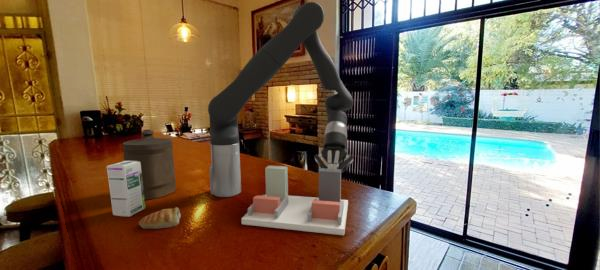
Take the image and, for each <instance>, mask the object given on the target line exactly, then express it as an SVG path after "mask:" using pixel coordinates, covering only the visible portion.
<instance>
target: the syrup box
mask: <svg viewBox="0 0 600 270" xmlns="http://www.w3.org/2000/svg"><path fill="white" fill-rule="evenodd" d="M106 172H107V173H106V174H107V179H108V186H109V195H110V201H111V209H112V210H111V211H112V215H113V216H117V217H118V216H119V217H127V218H128V217H129V218H130V217H132V216H133V215H136V214H137V213H139V212H141V211H143V210H145V209H146V207H147V206H146V201H145V198H144V189H143V181H142V172H141V163H140V161H124V160H123V161H120V162H116V163H113V164H109V165H107V166H106Z"/></svg>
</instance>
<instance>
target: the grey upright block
mask: <svg viewBox="0 0 600 270" xmlns="http://www.w3.org/2000/svg"><path fill="white" fill-rule="evenodd" d="M341 197H342V173H341V169H333V168H332V169H325V168H320V167H319V170H318V198H319V200H320V201H332V202H340V203H341V200H342V198H341Z"/></svg>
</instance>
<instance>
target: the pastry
mask: <svg viewBox="0 0 600 270" xmlns="http://www.w3.org/2000/svg"><path fill="white" fill-rule="evenodd" d="M180 212H181V211H180V208H179V207H177V206H175V207H174V208H163V209H161V210H158V211H155V212H152V213H150V214H148V215H146V216H143V217H142V218H141V219H140V220H139V221H138V224H139V227H141V228H142V229H145V230H147V229H149V230H151V229H153V230H157V229H165V228H172V227H176V226H178V225H179V224H180V219H181V216H182V215H181V213H180Z"/></svg>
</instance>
